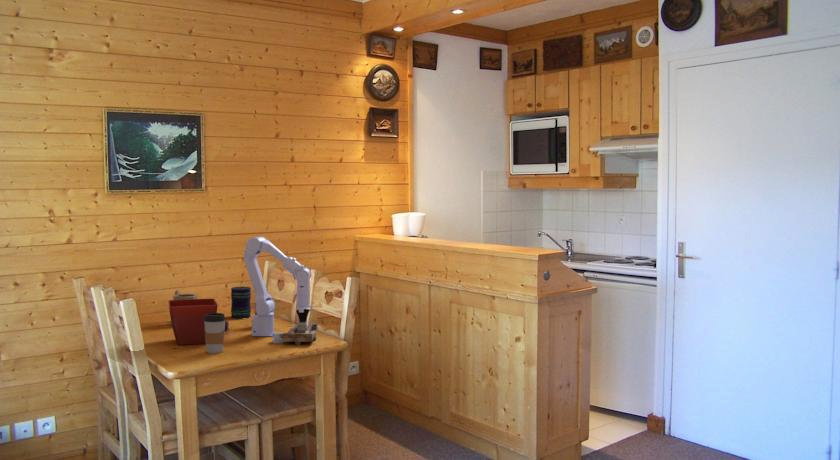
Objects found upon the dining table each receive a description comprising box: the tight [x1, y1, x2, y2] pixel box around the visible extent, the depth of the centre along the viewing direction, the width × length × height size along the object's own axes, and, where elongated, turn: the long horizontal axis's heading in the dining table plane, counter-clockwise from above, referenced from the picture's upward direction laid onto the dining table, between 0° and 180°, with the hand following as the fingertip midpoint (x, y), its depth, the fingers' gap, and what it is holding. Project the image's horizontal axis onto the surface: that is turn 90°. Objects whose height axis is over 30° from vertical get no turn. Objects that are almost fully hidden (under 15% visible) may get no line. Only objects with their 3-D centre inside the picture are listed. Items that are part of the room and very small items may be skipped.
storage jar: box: [230, 286, 252, 320], centre depth 356 cm, size 10×10×15 cm
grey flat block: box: [282, 322, 319, 346], centre depth 305 cm, size 13×22×5 cm, turn 2°
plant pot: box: [167, 298, 218, 346], centre depth 298 cm, size 19×19×17 cm
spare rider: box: [272, 331, 285, 344], centre depth 300 cm, size 4×4×4 cm
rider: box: [296, 320, 308, 332], centre depth 309 cm, size 4×4×4 cm
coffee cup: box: [204, 312, 226, 354], centre depth 280 cm, size 8×8×15 cm
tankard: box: [169, 289, 198, 326], centre depth 338 cm, size 20×13×15 cm, turn 34°
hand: (303, 325), depth 312 cm, fingers closed
